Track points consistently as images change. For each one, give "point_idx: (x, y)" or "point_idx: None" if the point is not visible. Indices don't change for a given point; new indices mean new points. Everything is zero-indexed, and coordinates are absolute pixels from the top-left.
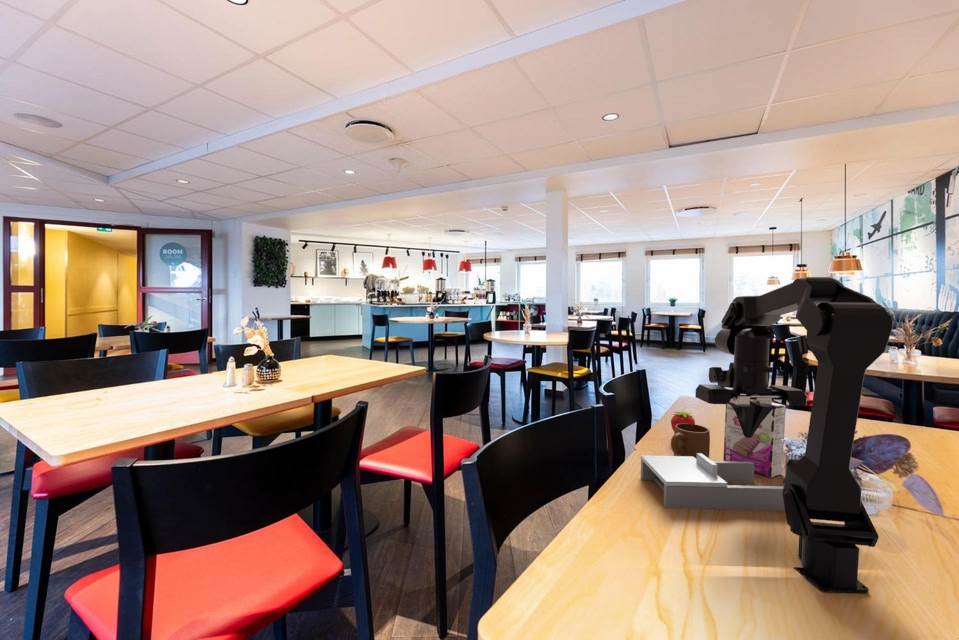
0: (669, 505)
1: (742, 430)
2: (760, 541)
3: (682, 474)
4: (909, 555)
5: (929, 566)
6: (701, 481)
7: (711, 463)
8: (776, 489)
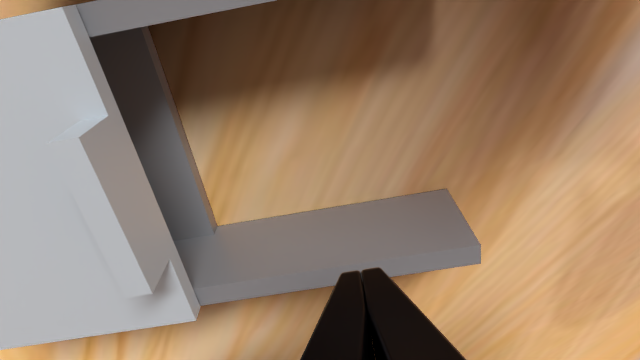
0: None
1: (327, 310)
2: (270, 346)
3: (12, 284)
4: (600, 330)
5: (600, 357)
6: (93, 328)
7: (123, 281)
8: (399, 273)
